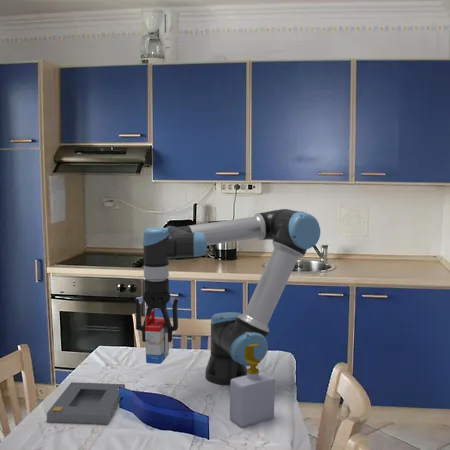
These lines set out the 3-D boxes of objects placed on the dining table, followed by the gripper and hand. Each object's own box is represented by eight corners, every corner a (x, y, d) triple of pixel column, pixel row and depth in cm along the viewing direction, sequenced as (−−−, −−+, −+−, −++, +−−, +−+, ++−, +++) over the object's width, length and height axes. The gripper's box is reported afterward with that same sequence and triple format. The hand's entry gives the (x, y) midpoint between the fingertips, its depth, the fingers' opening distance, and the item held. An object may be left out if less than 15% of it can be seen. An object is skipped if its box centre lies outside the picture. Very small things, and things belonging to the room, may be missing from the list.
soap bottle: (241, 428, 159) (242, 350, 156) (228, 419, 164) (230, 343, 161) (274, 418, 165) (276, 343, 162) (261, 409, 171) (263, 337, 168)
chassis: (124, 392, 181) (124, 383, 181) (107, 424, 160) (107, 414, 159) (71, 390, 182) (71, 381, 182) (46, 422, 160) (46, 412, 160)
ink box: (160, 364, 165) (160, 317, 164) (145, 363, 166) (144, 316, 165) (169, 354, 174) (168, 309, 172) (154, 353, 175) (153, 308, 173)
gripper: (187, 276, 170) (188, 347, 173) (129, 275, 171) (130, 346, 174) (185, 281, 163) (185, 356, 166) (123, 280, 163) (125, 355, 167)
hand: (157, 351), depth 170 cm, fingers closed on ink box, 5 cm apart
